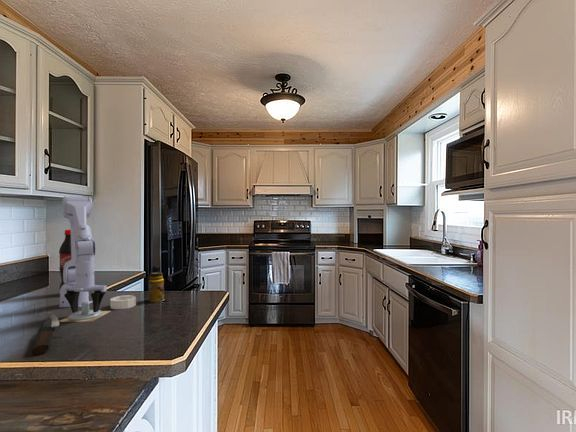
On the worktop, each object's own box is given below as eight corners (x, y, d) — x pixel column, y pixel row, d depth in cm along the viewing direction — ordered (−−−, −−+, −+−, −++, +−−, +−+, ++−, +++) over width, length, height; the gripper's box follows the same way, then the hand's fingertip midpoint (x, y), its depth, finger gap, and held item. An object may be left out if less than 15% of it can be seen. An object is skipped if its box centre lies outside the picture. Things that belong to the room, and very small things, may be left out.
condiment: (166, 301, 139) (166, 273, 139) (145, 305, 135) (144, 275, 135) (162, 298, 146) (162, 270, 145) (141, 301, 141) (141, 272, 141)
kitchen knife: (55, 341, 90) (32, 347, 87) (56, 349, 90) (33, 355, 87) (60, 309, 119) (43, 313, 117) (61, 315, 120) (44, 319, 117)
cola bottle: (55, 295, 152) (54, 229, 152) (73, 291, 160) (72, 229, 160) (67, 296, 149) (66, 230, 149) (85, 292, 157) (84, 229, 157)
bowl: (105, 310, 128) (105, 301, 128) (118, 303, 137) (118, 295, 137) (129, 310, 128) (128, 300, 128) (139, 303, 137) (139, 295, 137)
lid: (62, 320, 114) (62, 306, 114) (80, 311, 124) (80, 299, 124) (91, 320, 114) (90, 306, 114) (107, 311, 124) (106, 298, 124)
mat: (57, 322, 113) (57, 321, 113) (79, 312, 125) (79, 311, 125) (92, 322, 113) (92, 321, 113) (111, 312, 125) (111, 311, 125)
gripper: (57, 276, 115) (57, 315, 115) (98, 275, 115) (99, 314, 115) (70, 272, 122) (71, 309, 122) (109, 272, 122) (110, 309, 122)
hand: (85, 311), depth 119 cm, fingers open, 7 cm apart
